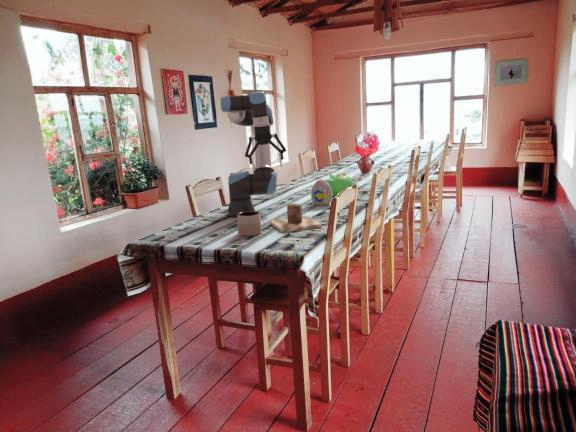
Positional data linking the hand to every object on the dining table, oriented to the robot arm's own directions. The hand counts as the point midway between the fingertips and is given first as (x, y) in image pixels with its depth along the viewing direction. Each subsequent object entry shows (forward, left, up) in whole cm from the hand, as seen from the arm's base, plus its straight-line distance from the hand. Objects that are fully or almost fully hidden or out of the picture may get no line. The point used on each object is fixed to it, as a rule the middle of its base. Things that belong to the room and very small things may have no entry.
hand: (267, 168), depth 226 cm
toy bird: (+22, +71, -28) cm, 79 cm away
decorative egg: (+16, +45, -28) cm, 55 cm away
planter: (-3, -21, -28) cm, 35 cm away
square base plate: (+14, -4, -28) cm, 31 cm away
